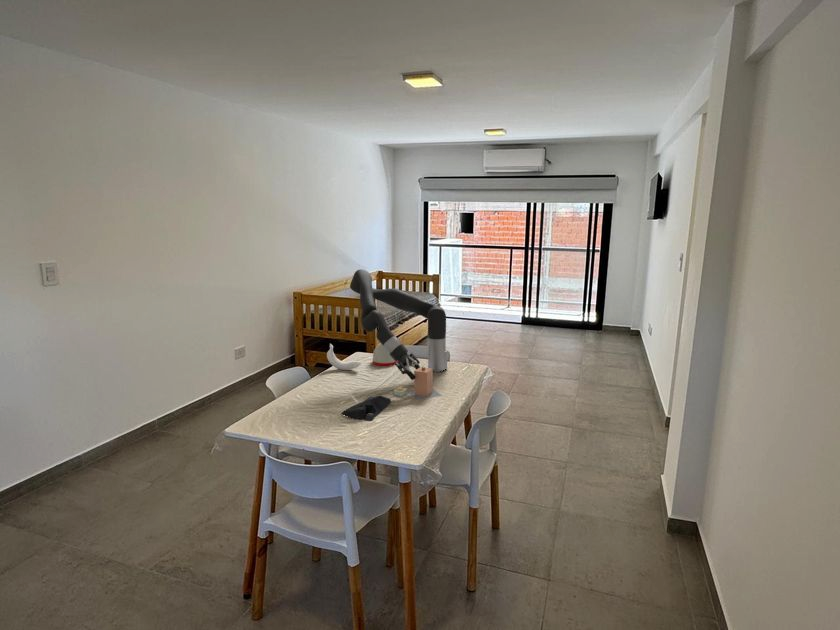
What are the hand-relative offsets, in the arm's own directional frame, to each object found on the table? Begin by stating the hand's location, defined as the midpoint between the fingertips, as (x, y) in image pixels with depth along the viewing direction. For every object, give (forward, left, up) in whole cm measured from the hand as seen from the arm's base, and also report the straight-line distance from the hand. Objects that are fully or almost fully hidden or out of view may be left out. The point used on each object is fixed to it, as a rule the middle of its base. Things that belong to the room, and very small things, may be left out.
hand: (418, 376), depth 223 cm
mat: (-2, +2, -8) cm, 9 cm away
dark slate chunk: (+26, +8, -9) cm, 29 cm away
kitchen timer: (-3, -53, -9) cm, 54 cm away
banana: (+21, -49, -9) cm, 54 cm away
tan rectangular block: (-2, +2, -8) cm, 8 cm away
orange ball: (+8, -2, -8) cm, 11 cm away
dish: (+8, -2, -8) cm, 12 cm away
